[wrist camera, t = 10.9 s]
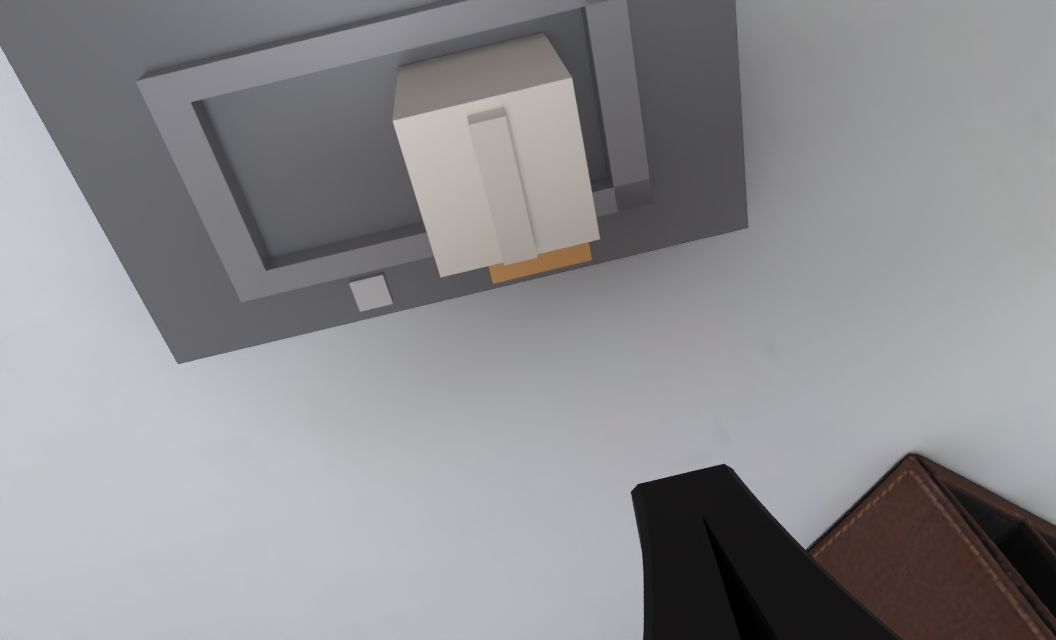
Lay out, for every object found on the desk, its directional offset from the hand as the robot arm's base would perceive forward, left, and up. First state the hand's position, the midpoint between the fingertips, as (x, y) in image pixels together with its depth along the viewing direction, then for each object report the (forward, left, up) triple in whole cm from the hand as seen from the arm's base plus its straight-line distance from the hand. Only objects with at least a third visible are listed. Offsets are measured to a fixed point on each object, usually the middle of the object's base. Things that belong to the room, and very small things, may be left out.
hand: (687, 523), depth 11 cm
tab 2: (+1, -4, -9) cm, 9 cm away
